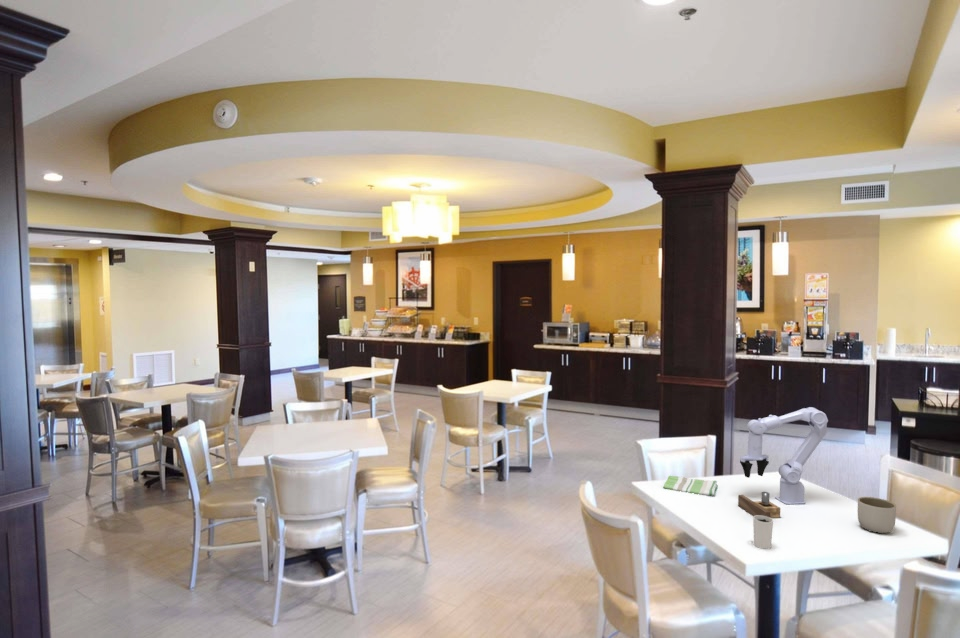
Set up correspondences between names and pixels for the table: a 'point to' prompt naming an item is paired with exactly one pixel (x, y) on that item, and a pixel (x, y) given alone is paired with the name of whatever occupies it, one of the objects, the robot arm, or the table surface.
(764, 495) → the dowel
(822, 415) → the robot arm
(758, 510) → the wooden plank
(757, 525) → the white cup
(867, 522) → the planter
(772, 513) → the block
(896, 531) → the table surface
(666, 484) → the dish towel
